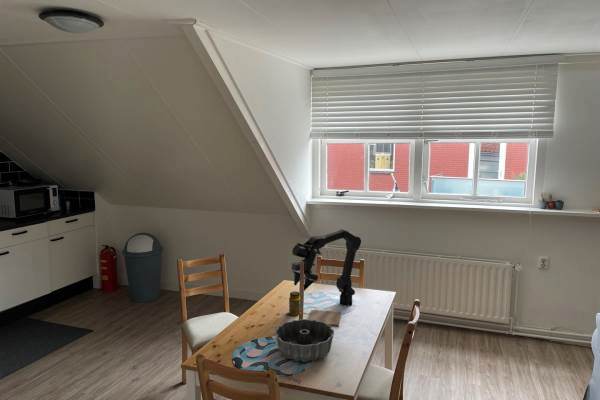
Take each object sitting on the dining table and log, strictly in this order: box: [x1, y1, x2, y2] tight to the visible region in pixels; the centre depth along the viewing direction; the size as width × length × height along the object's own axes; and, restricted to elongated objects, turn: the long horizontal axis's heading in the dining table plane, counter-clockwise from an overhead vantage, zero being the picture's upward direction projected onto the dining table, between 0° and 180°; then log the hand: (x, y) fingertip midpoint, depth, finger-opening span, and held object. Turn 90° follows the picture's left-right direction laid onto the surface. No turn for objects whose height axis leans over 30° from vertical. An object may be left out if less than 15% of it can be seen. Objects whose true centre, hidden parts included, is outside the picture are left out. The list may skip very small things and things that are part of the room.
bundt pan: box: [274, 318, 335, 363], centre depth 196 cm, size 26×26×10 cm
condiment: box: [283, 291, 301, 319], centre depth 236 cm, size 7×8×12 cm
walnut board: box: [307, 309, 342, 328], centre depth 231 cm, size 16×16×1 cm
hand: (299, 287), depth 234 cm, fingers open, 9 cm apart
